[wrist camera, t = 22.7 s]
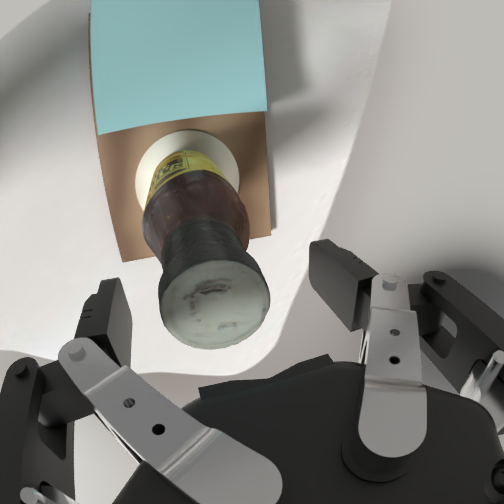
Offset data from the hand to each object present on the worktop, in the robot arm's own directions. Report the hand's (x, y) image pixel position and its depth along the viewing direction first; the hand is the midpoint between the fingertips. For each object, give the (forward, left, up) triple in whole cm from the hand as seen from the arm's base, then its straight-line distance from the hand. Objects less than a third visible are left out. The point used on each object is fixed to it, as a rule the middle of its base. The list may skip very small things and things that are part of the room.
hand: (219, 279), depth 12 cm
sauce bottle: (0, 0, -18) cm, 18 cm away
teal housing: (0, +13, -18) cm, 22 cm away
